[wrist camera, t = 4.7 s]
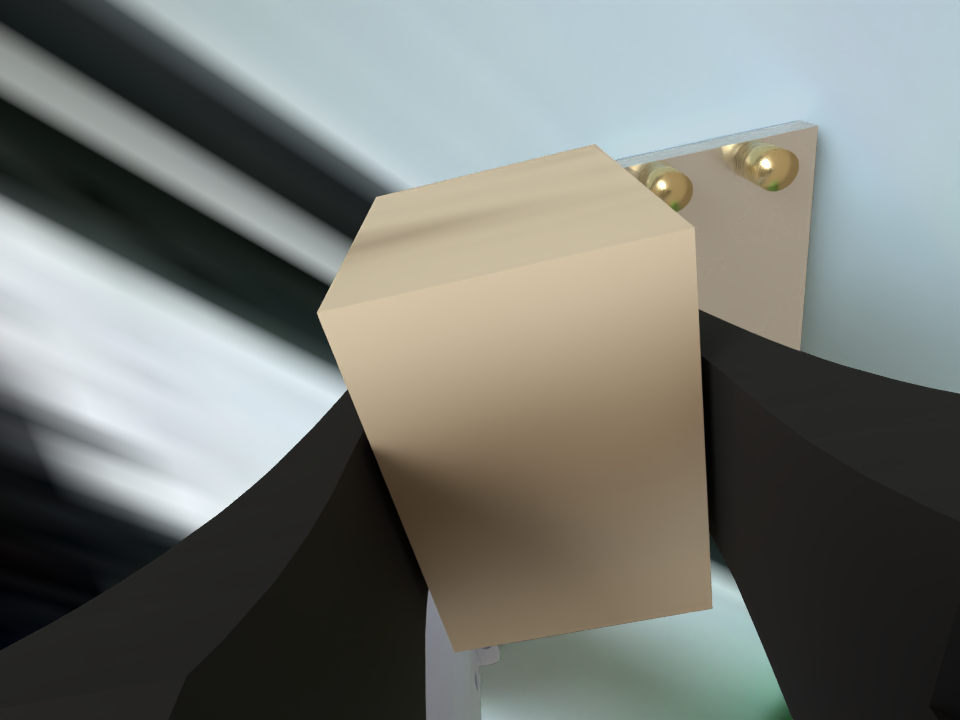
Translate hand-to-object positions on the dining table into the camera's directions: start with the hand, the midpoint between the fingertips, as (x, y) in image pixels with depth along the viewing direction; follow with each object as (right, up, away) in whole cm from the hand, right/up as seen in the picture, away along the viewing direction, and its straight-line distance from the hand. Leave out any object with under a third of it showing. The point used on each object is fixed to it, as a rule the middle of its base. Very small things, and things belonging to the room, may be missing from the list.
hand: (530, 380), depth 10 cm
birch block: (0, +1, +2) cm, 2 cm away
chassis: (+6, +2, +9) cm, 11 cm away
